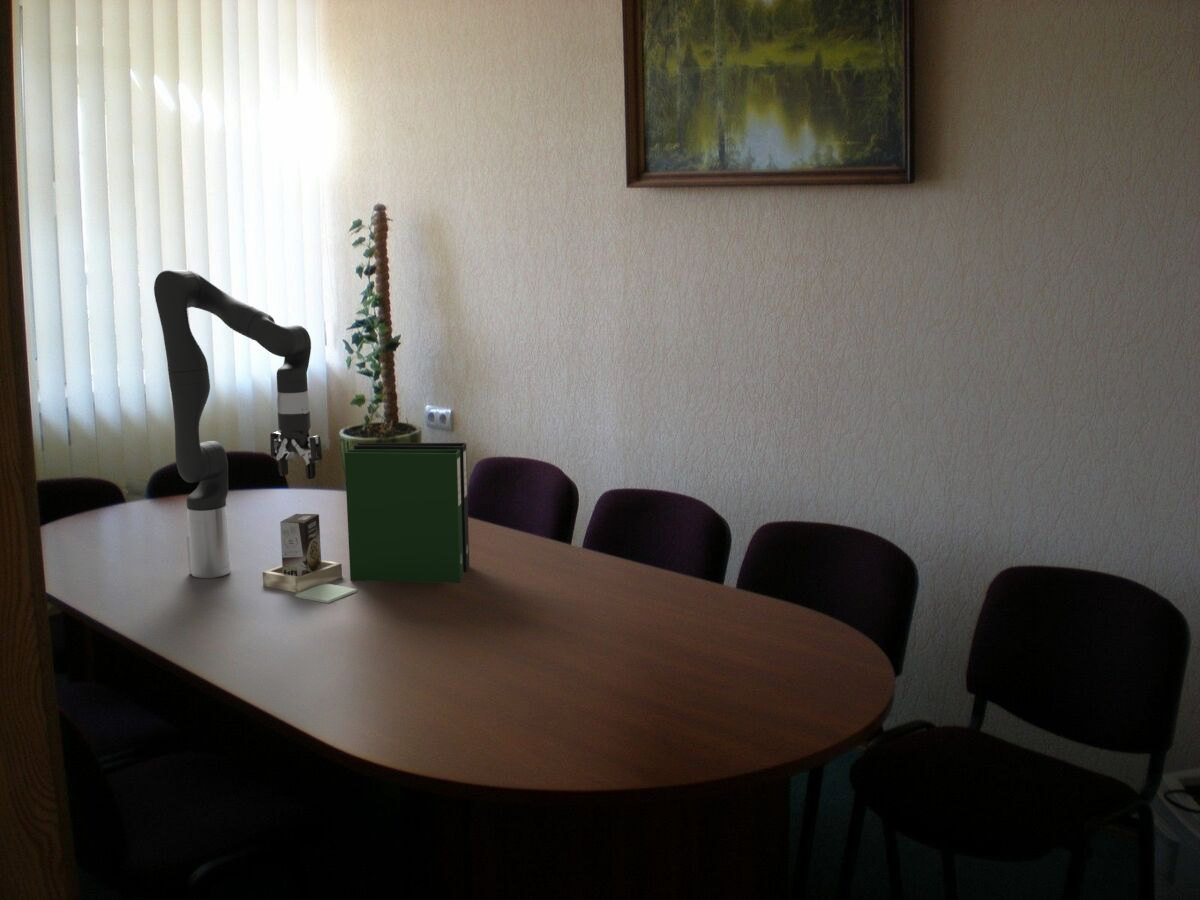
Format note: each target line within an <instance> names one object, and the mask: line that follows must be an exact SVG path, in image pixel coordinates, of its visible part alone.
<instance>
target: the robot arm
mask: <svg viewBox="0 0 1200 900" xmlns="http://www.w3.org/2000/svg"><path fill="white" fill-rule="evenodd" d="M153 293H154V299H155V304H156V308H157V309H156V310H157V312H158V316H159V321H160V326H161V330H162V334H163V342H164V348H165V355H166V363H167V371H168V373H167V374H168V375H167V376H168V382H169V387H170V392H171V401H172V411H173V420H174V422H173V423H174V447H175V448H174V449H175V450H174V451H175V452H174V453H175V464H176V469H177V471H178V474H179V476H180V477H181V479H182V480H183V481H185V482H186V483H189V484H190V483H191V484H194V483H199V484H198V485H197V487H196V488H195V489H194V490H193V491H192V492H191V493H190V494H189V495H188V496H187V498H186V511H187V524H188V526H187V527H188V536H186V548H187V549H186V550H187V565H188V574H191V576H192V577H194V578H197V579H212V578H213V579H214V578H219V577H223V576H226V575H228V574H230V573H231V561H230V560H231V559H230V543H229V542H230V541H229V527H228V515H227V514H228V512H227V497H228V494H229V462H228V461H229V460H228V456H227V452H226V450H225V448H224V446H223V444H221V443H219V442H218V441H216V440H207V441H202V442H201V441H200V422H201V418H202V415H203V412H204V410H205V406H206V404H207V402H208V398H209V395H210V391H211V381H210V373H209V365H208V361H207V358H206V355H205V354H204V352H203V350H202V348H201V346H200V345H199V344H198V342H197V340H196V338H195V337H194V335H193V333H192V329H191V326H190V322H189V314H188V308H195V309H199V310H203V311H205V312H208V313H210V314H212V315H214V316H216V317H218V319H220V320H221V321H222V322H223V323H224V324H225V325H226V326H227V327H229V328H230V329H232V330H233V331H234V332H236V333H238V334H239V335H240V334H241V335H242V336H244V337H246V338H248V339H251V340H252V341H255V342H256V343H258V345H260V346H261V347H262V348H263V349H264V350H266V351H268V352H269V353H271V354H272V355H274V356H277V357H280V358H281V357H282V358H284V360H283V364H282V366H281V367H279V368H278V369H277V371H276V389H277V392H276V396H277V397H276V408H277V413H276V414H277V426H278V427H277V428H278V430H279V431H274V432H271V433H270V436H269V438H270V440H269V441H270V456H271V457H272V458H275V459H276V460H277V466H278V473H279V475H280V476H281V477H283V476H287V475H289V463H288V462H289V460H288V456H289V455H290V453H295V454H298V455H299V456H300V457H301V458H303V460H304V461H305V463H306V464H305V478H306V480H312V479H315V477H316V474H317V473H316V463H317V462H320V461H322V460H323V453H322V441H321V436H320V435H314V436H311V435H310V430H311V426H312V423H311V422H312V421H311V406H310V405H311V403H310V396H309V391H308V390H309V388H308V368H309V363H310V358H311V354H312V353H311V351H312V340H311V336H310V333H309V332H308V330H307V329H306V328H305V327H303V326H301V325H298V324H297V325H296V324H294V325H287V326H282V325H279V324H277V323H276V322H275V319H274V317H273V316H271V315H270V314H268V313H266V312H264V311H263V310H260V309H258V308H257V307H254V306H253V305H252V306H251V305H249V304H247V303H245V302H242V301H241V300H239V299H237V298H235V297H234V296H231V295H230V294H228V293H227V292H225V291H224V290H222V289H221V288H219V287H217V286H216V285H215V284H213V283H212V282H210V281H209V280H208V279H206V278H204V276H201V274H199V273H197V272H196V271H193V270H190V269H166V270H162V271H161V272H160V273H159V274H157V276H156V277H155V281H154V284H153Z"/></svg>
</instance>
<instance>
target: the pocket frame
mask: <svg viewBox="0 0 1200 900" xmlns="http://www.w3.org/2000/svg"><path fill="white" fill-rule="evenodd" d="M321 565H322V569H319V570H316V571H314V572H311V573H308V574H305V575H303V576H300V577H297V576H292V575H286V574H283V569H282V564H281V565H279V566H276V567H273V568H271V569H270V568H269V569H267V570H265V571H262V572H261V574H262V585H263V587H265V588H266V587H267V588H271V589H277V590H282V591H286V592H287V591H288V592H292V593H296V594H298V593H300V592H303V591H306V590H308V589H311V588H313V587H316V586H319V585H321V584H324V583H327V584H329V583H330V582H332V581H336V580H338V579H340V578H342V577H343V565H342V563H341V562H338V561H332V560H331V561H330V560H325V559H321Z"/></svg>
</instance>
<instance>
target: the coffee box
mask: <svg viewBox="0 0 1200 900" xmlns="http://www.w3.org/2000/svg"><path fill="white" fill-rule="evenodd" d="M279 523H280V524H279V525H280V542H281V544H280V545H281V563H282V564H281V565H282V569H283V574H286V575H292V576H297V577H300V576H303V575H305V574H308V573H311V572H314V571H316V570H319V569H322V565H321V560H322V549H321V529H320V514H319V513H295V514H293V515H291V516H289V517H287V518H285V519H282V520H281V521H280V522H279Z"/></svg>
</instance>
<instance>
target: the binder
mask: <svg viewBox="0 0 1200 900" xmlns="http://www.w3.org/2000/svg"><path fill="white" fill-rule="evenodd" d="M467 462H468V461H467V443H466V442H357V445H354V446H353V449H348V451H346V452H344V470H345V471H344V472H345V486H346V487H345V491H346V493H345V494H346V513H347V535H348V537H347V538H348V554H349V555H348V556H349V577H350V578H349V579H350V581H352V582H384V583H387V582H391V583H392V582H393V583H396V582H397V583H434V584H435V583H436V584H437V583H443V584H447V583H448V584H460V583H461V582H462V580H463V579H464V573H467V572H466V571H468V569H469V568H470V540H469V538H470V537H469V536H470V534H469V506H468V505H469V504H468V503H469V502H468V501H469V499H468V495H469V494H468V468H467V467H468V463H467Z"/></svg>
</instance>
